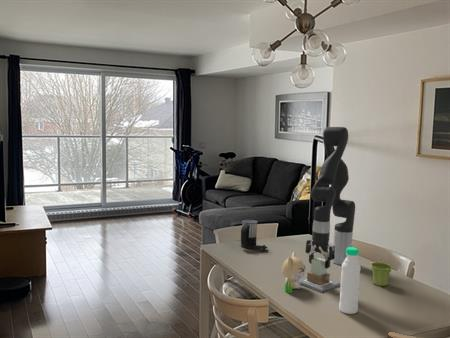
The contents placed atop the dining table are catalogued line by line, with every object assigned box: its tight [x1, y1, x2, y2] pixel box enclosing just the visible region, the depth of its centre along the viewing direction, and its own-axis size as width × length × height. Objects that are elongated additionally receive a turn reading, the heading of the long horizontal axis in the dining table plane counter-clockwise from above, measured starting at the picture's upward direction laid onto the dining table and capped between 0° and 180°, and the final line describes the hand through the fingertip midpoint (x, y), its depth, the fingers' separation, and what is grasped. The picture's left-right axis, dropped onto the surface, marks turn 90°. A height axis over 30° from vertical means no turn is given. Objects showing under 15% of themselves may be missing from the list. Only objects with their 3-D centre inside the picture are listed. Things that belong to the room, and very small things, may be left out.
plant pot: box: [370, 262, 393, 287], centre depth 205 cm, size 9×9×9 cm
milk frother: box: [240, 219, 268, 251], centre depth 257 cm, size 14×16×15 cm
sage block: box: [310, 257, 328, 276], centre depth 202 cm, size 5×5×6 cm
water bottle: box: [338, 246, 362, 315], centre depth 173 cm, size 7×7×25 cm
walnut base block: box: [306, 271, 330, 286], centre depth 202 cm, size 7×7×4 cm
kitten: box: [281, 251, 306, 294], centre depth 196 cm, size 15×10×15 cm
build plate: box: [299, 276, 341, 293], centre depth 202 cm, size 14×14×1 cm
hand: (319, 265), depth 202 cm, fingers open, 8 cm apart
